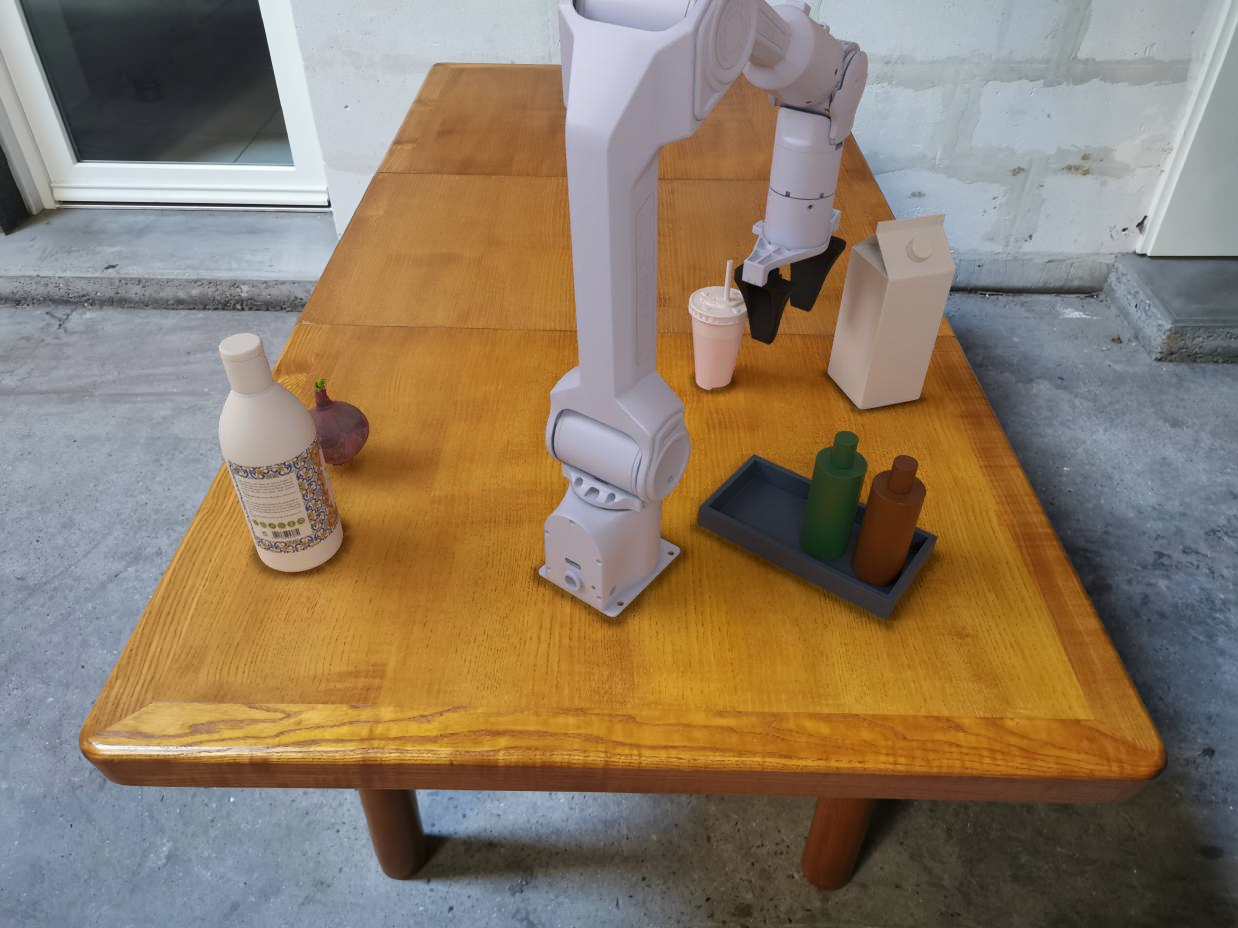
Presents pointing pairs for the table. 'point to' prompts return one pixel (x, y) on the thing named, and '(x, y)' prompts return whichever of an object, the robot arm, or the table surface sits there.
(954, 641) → the table surface
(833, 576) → the tray
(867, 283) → the milk carton
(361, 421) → the vegetable
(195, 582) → the table surface
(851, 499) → the green bottle
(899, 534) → the brown bottle
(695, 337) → the smoothie
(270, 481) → the bath foam
